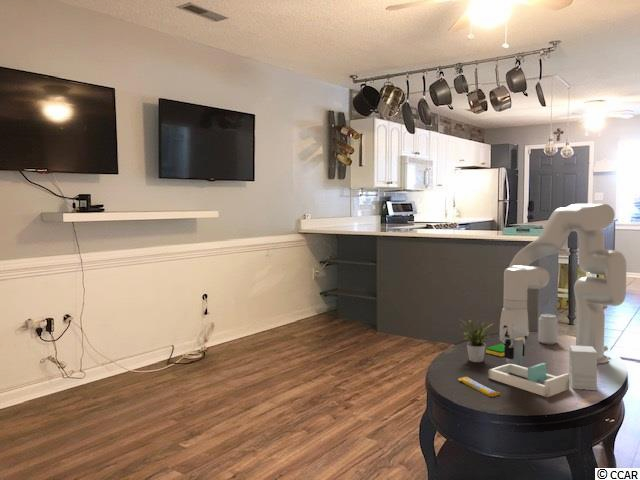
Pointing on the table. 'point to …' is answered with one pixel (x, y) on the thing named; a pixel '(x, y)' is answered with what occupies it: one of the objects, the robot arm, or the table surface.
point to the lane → (551, 383)
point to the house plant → (476, 342)
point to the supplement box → (583, 367)
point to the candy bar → (478, 386)
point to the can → (548, 329)
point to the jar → (516, 351)
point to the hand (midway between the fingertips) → (514, 356)
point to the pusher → (537, 373)
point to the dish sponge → (496, 350)
